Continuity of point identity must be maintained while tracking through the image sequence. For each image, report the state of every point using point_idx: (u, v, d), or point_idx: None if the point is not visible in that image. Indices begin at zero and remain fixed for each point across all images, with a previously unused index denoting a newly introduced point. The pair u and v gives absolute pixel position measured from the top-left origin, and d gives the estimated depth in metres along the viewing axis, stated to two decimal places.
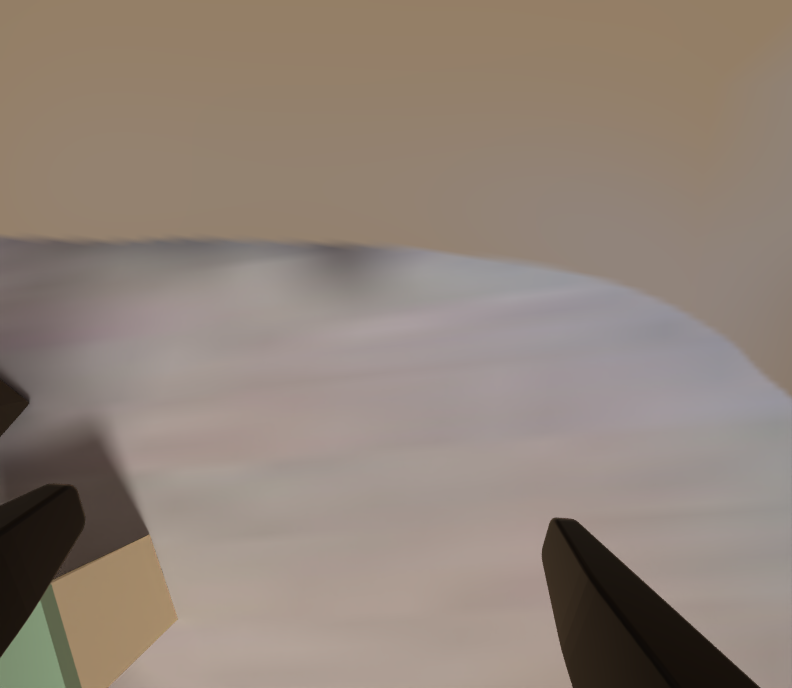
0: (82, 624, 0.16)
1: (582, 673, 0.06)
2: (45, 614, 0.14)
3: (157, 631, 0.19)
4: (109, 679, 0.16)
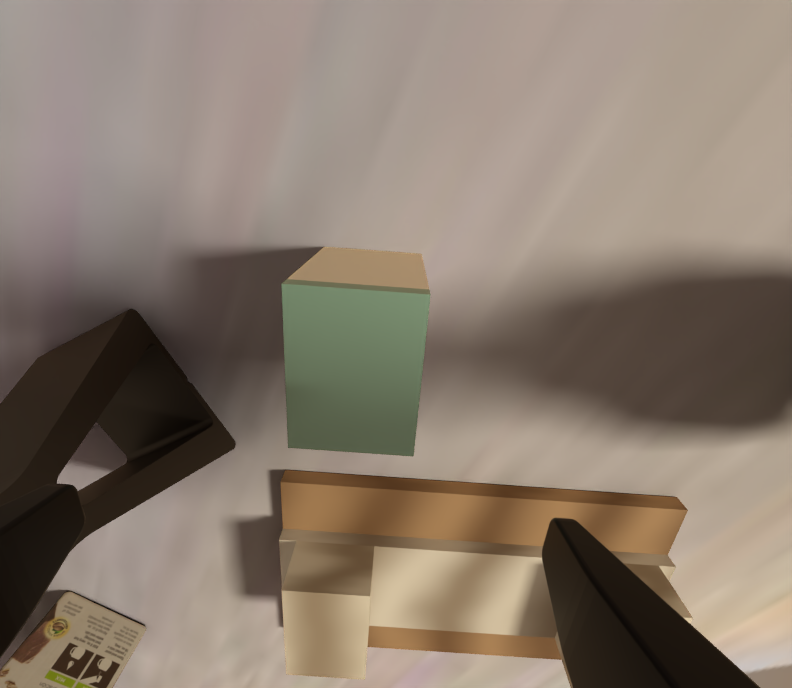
0: (351, 277, 0.13)
1: (582, 673, 0.06)
2: (311, 286, 0.12)
3: (416, 260, 0.17)
4: (421, 279, 0.14)
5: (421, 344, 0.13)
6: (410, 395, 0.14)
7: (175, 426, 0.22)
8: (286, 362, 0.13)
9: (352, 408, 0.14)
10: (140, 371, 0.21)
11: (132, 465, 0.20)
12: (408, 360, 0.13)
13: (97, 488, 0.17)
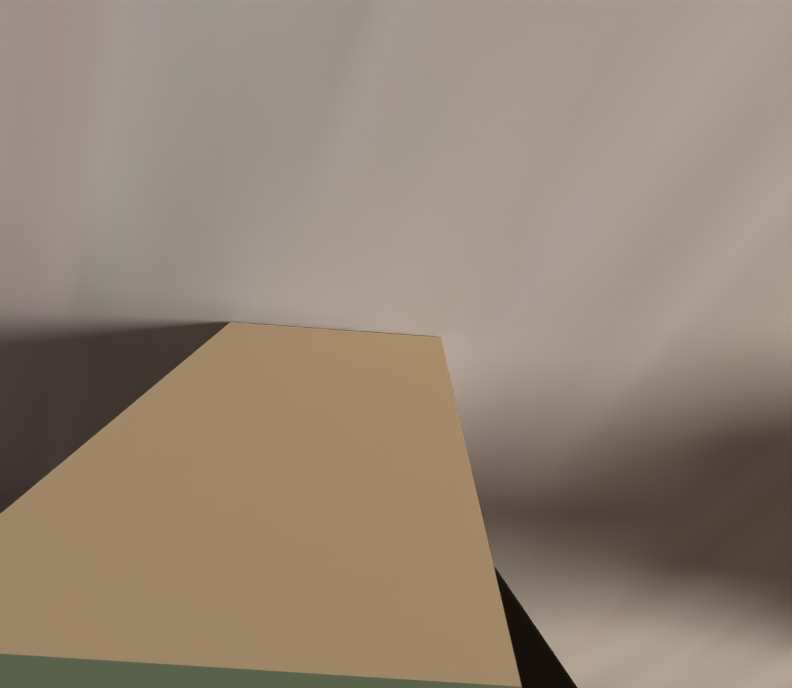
0: (197, 558, 0.03)
1: None
2: None
3: (433, 373, 0.07)
4: (466, 533, 0.04)
5: None
6: None
7: None
8: None
9: None
10: None
11: None
12: None
13: None
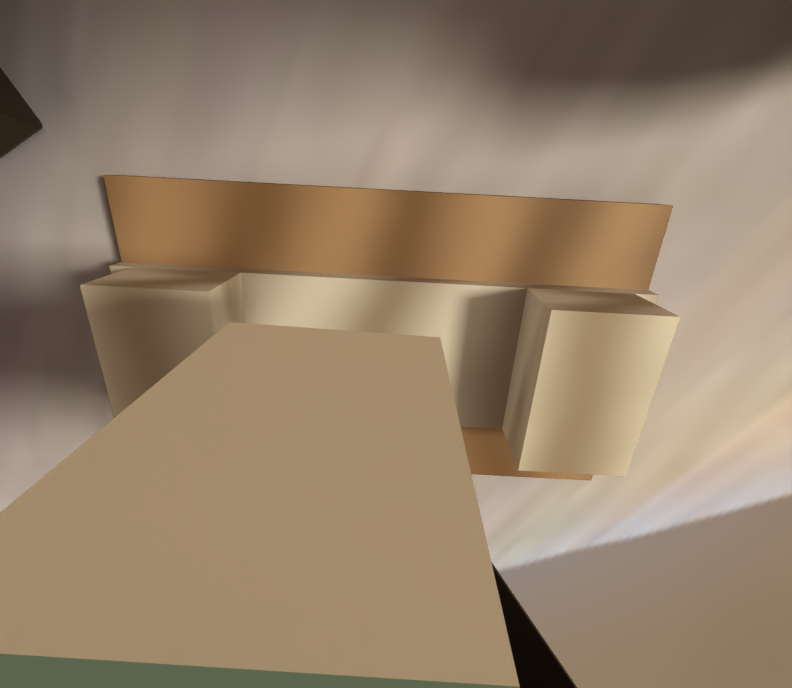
0: (196, 558, 0.03)
1: None
2: None
3: (433, 373, 0.07)
4: (465, 533, 0.04)
5: None
6: None
7: None
8: None
9: None
10: None
11: None
12: None
13: None
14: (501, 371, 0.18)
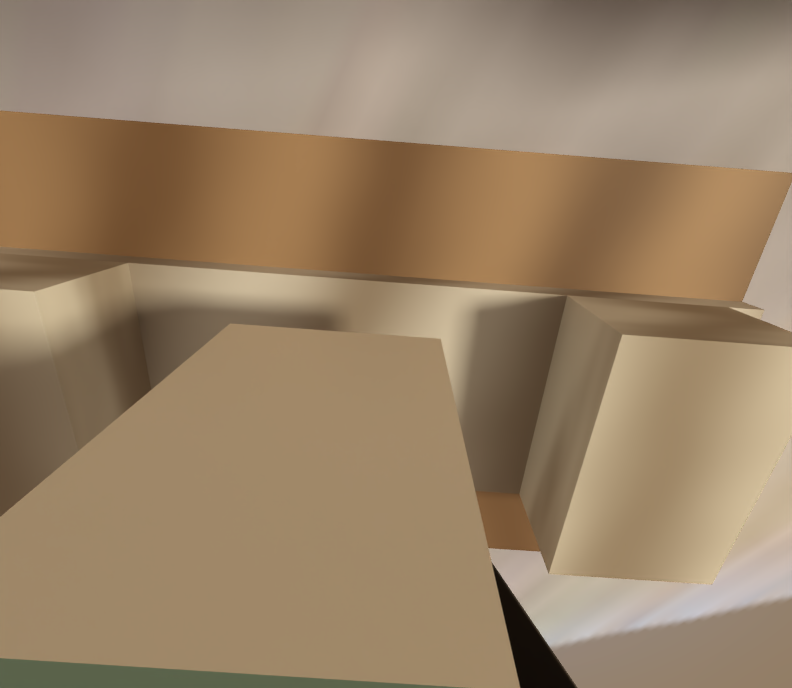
0: (196, 562, 0.03)
1: None
2: None
3: (433, 375, 0.07)
4: (466, 536, 0.04)
5: None
6: None
7: None
8: None
9: None
10: None
11: None
12: None
13: None
14: (522, 415, 0.13)
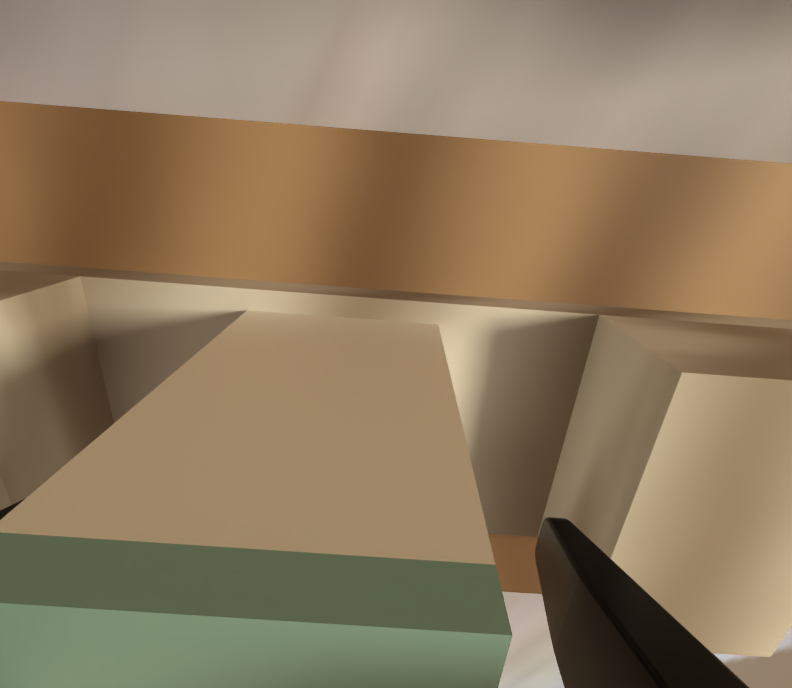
0: (242, 483, 0.04)
1: (573, 673, 0.06)
2: (44, 596, 0.03)
3: (431, 353, 0.08)
4: (457, 469, 0.05)
5: None
6: None
7: None
8: None
9: None
10: None
11: None
12: None
13: None
14: (542, 451, 0.11)
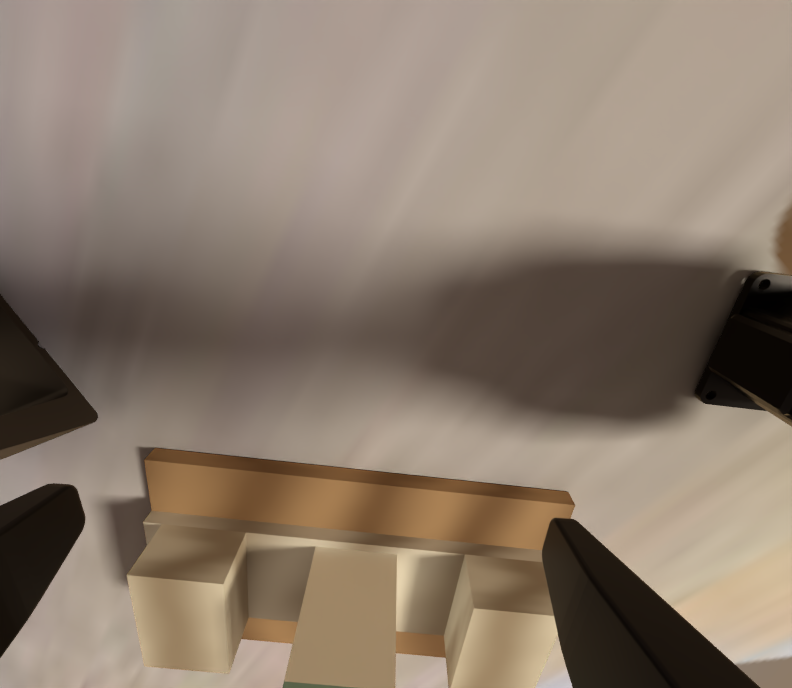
0: (335, 663, 0.17)
1: (582, 673, 0.06)
2: None
3: (391, 583, 0.21)
4: (391, 656, 0.17)
5: None
6: None
7: (28, 395, 0.20)
8: None
9: None
10: None
11: None
12: None
13: None
14: (444, 601, 0.24)
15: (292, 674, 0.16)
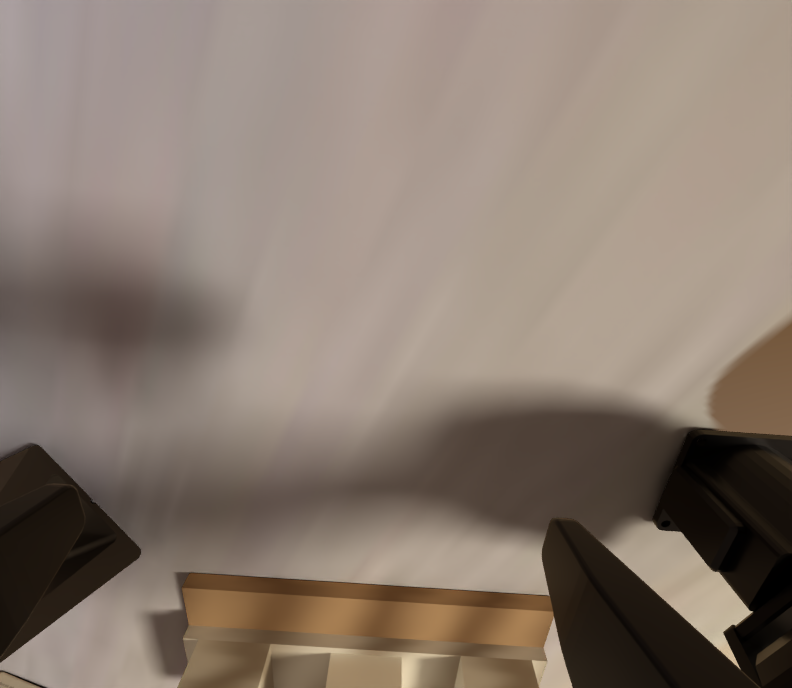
0: None
1: (582, 673, 0.06)
2: None
3: None
4: None
5: None
6: None
7: (83, 539, 0.24)
8: None
9: None
10: None
11: None
12: None
13: None
14: None
15: None
